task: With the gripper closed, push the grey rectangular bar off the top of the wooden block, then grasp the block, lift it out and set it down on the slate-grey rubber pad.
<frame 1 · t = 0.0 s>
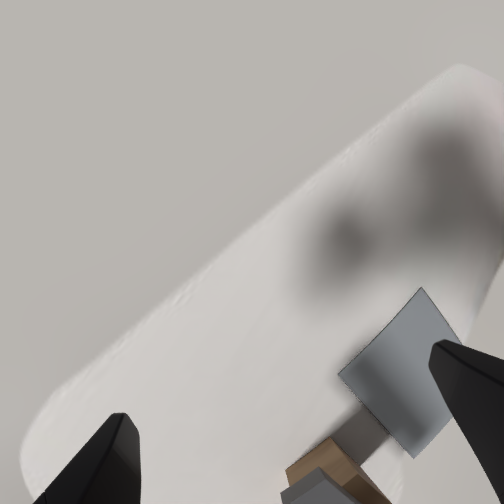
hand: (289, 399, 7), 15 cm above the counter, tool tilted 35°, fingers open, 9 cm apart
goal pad: (421, 378, 21), on the counter
wooden block: (323, 469, 20), on the counter
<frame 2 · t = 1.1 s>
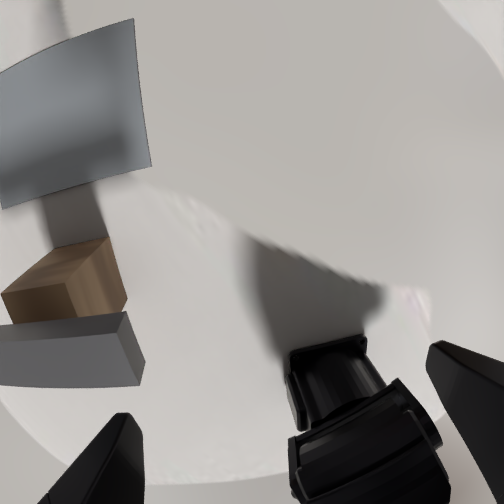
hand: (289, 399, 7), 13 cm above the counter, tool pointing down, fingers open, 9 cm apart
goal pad: (54, 114, 15), on the counter
wooden block: (89, 273, 19), on the counter
grey rectangular bar: (27, 355, 10), point 9 cm above the counter, slide at 0.0 cm
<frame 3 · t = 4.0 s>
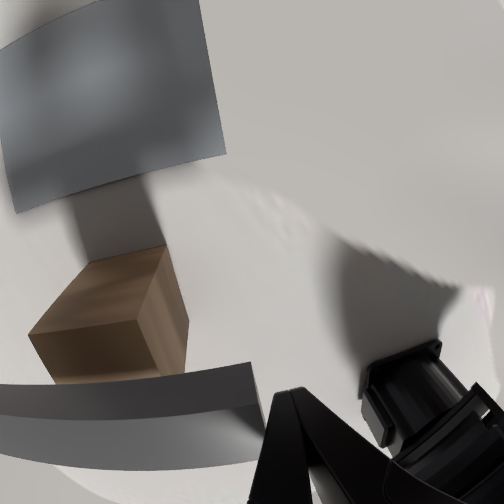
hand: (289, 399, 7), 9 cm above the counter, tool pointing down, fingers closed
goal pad: (89, 88, 12), on the counter
wooden block: (138, 292, 16), on the counter
grey rectangular bar: (81, 428, 7), point 9 cm above the counter, slide at 0.2 cm, touching gripper
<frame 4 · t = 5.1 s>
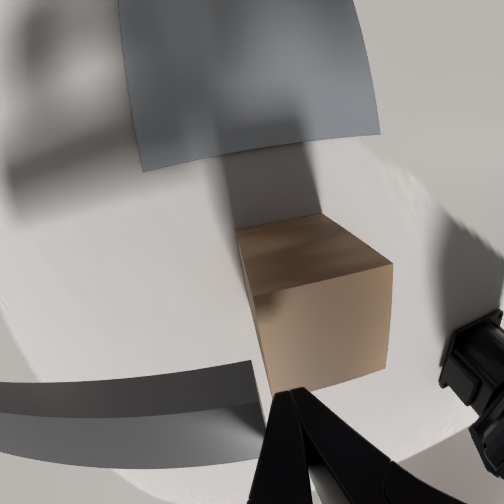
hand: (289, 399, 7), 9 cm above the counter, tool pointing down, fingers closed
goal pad: (250, 49, 12), on the counter
wooden block: (285, 262, 16), on the counter
grey rectangular bar: (81, 426, 7), point 9 cm above the counter, slide at 8.2 cm, touching gripper
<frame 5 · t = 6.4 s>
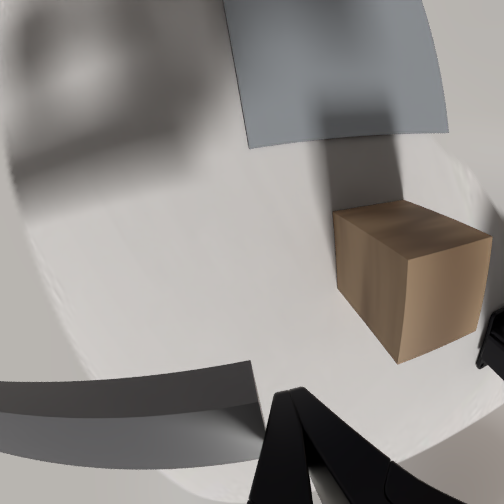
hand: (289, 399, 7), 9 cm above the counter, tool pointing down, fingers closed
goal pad: (348, 45, 13), on the counter
wooden block: (371, 244, 16), on the counter
grey rectangular bar: (79, 426, 7), point 9 cm above the counter, slide at 13.2 cm, touching gripper
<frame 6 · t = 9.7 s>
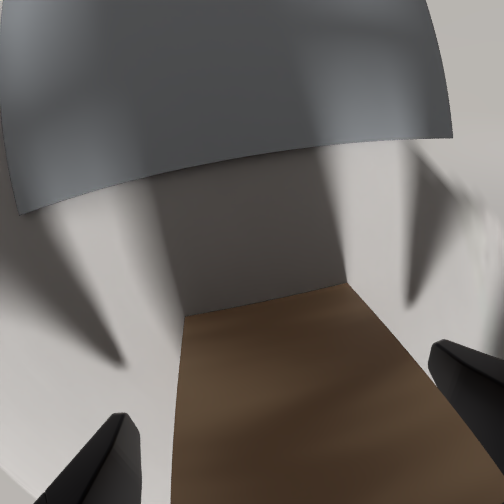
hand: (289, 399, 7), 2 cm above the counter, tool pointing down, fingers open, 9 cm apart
wooden block: (277, 363, 9), on the counter
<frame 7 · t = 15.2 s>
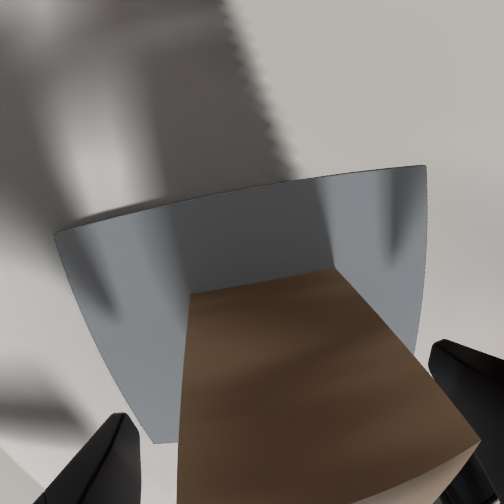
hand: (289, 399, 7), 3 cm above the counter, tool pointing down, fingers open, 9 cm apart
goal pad: (269, 336, 10), on the counter
wooden block: (272, 340, 10), resting on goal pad
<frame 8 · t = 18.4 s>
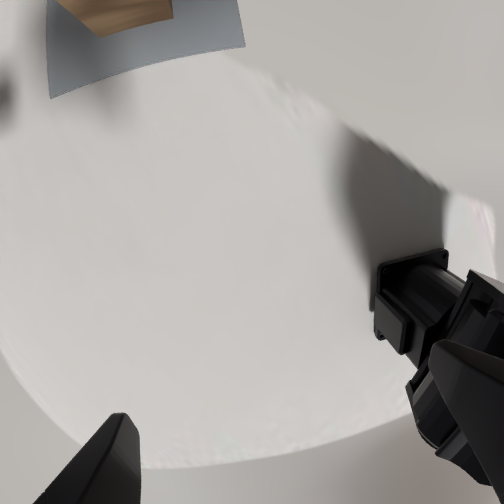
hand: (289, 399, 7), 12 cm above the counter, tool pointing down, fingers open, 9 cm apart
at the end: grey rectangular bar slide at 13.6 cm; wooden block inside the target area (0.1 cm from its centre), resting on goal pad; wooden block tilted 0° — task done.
